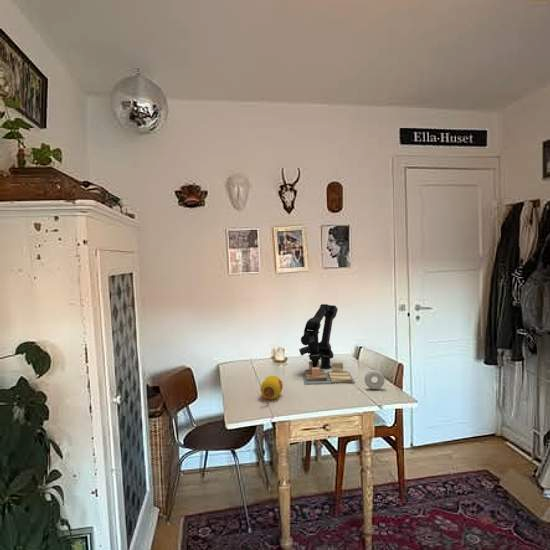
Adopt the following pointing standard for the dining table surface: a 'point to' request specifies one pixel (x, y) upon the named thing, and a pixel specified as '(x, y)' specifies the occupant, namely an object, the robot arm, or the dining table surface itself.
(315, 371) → the block
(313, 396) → the dining table surface
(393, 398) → the dining table surface
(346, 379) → the tan piece
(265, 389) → the yellow piece
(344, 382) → the lane mat
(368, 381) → the donut
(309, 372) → the darker brown strip
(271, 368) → the dining table surface
